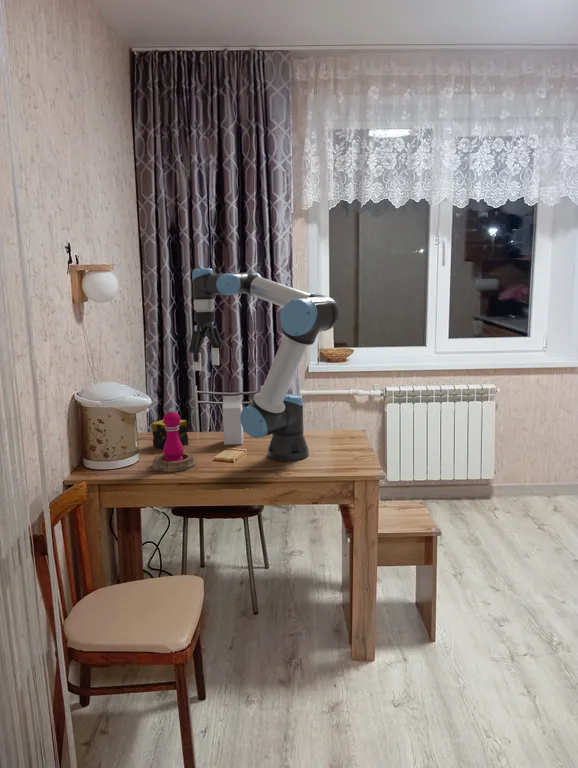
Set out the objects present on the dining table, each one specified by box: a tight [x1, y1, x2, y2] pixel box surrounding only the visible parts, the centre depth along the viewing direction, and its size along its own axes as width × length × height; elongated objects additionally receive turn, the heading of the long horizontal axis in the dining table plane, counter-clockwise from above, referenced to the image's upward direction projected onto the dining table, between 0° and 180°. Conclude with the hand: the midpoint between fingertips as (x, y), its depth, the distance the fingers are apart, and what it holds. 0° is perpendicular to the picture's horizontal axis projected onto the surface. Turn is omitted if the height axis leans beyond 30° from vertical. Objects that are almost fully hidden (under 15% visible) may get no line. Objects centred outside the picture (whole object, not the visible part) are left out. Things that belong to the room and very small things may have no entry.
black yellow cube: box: [151, 419, 189, 449], centre depth 270 cm, size 10×10×10 cm
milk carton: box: [222, 395, 244, 445], centre depth 272 cm, size 7×7×19 cm
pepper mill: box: [162, 407, 185, 461], centre depth 242 cm, size 7×7×20 cm
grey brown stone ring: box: [152, 451, 196, 473], centre depth 244 cm, size 15×15×3 cm
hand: (207, 367), depth 255 cm, fingers open, 13 cm apart
